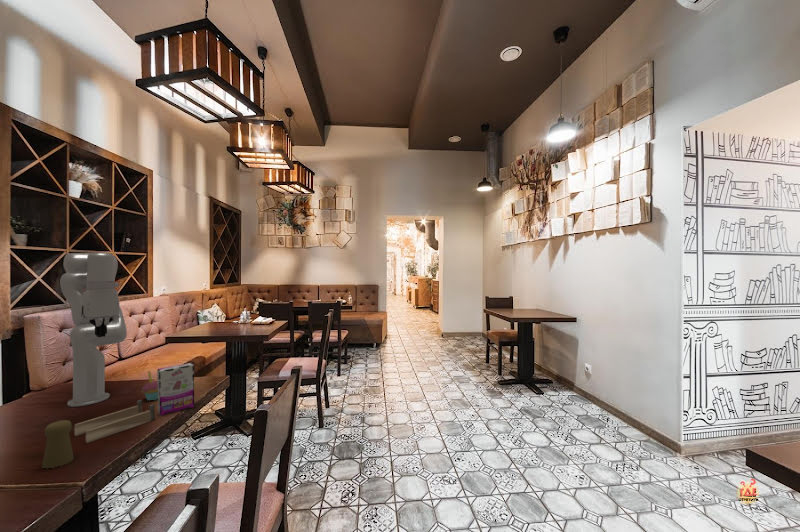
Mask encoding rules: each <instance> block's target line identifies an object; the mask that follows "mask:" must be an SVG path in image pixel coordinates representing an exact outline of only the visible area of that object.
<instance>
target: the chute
mask: <svg viewBox="0 0 800 532" xmlns="http://www.w3.org/2000/svg"><path fill="white" fill-rule="evenodd" d="M155 413H156V412H155V404H154V403H153V404H150V405H148V410H146V411H143V400H142V399H139V400H137V401H136V405H134V406H130V407H127V408H124V409H121V410H118V411H114V412H112V413H111V412H110V413H107V414H105V415H104V414H103V415H102V416H98V417H94V418H92V419H88V420H85V421H82V422H78V423H75V424H74V430H73V431H74V433H73V434H74V437H78V436H80V435H84V434H85V443H86V444H88V443H89V444H90V443H91V442H95V441H98V440H100V439H103V438H107V437H109V436H112V435H115V434H118V433H120V432H124V431H127V430H129V429H132V428H135V427H138V426H141V425H144V424H146V423H150V422H152V421H155V420H156V419H155V416H156V414H155Z"/></svg>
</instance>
